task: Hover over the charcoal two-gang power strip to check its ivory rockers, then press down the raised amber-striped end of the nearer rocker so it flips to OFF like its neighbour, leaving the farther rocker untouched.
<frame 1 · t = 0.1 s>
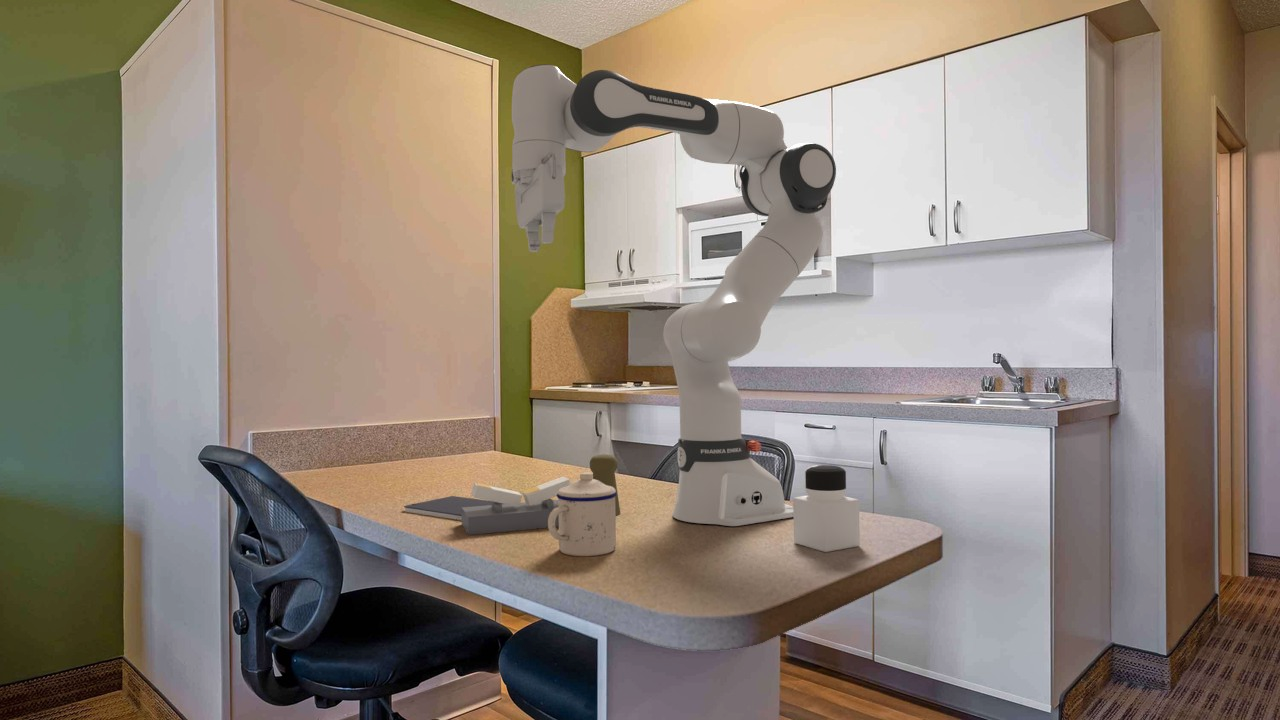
hand: (540, 247, 130), 48 cm above the table, fingers open, 8 cm apart
teacup with lid: (580, 553, 117), on the table
rocker 2: (547, 490, 138), point 6 cm above the table, hinge at 16.0°
medicine bottle: (826, 546, 118), on the table
power strip: (522, 524, 137), on the table
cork: (604, 514, 145), on the table
notebook: (464, 514, 150), on the table
rocker 1: (496, 494, 135), point 6 cm above the table, hinge at -16.0°
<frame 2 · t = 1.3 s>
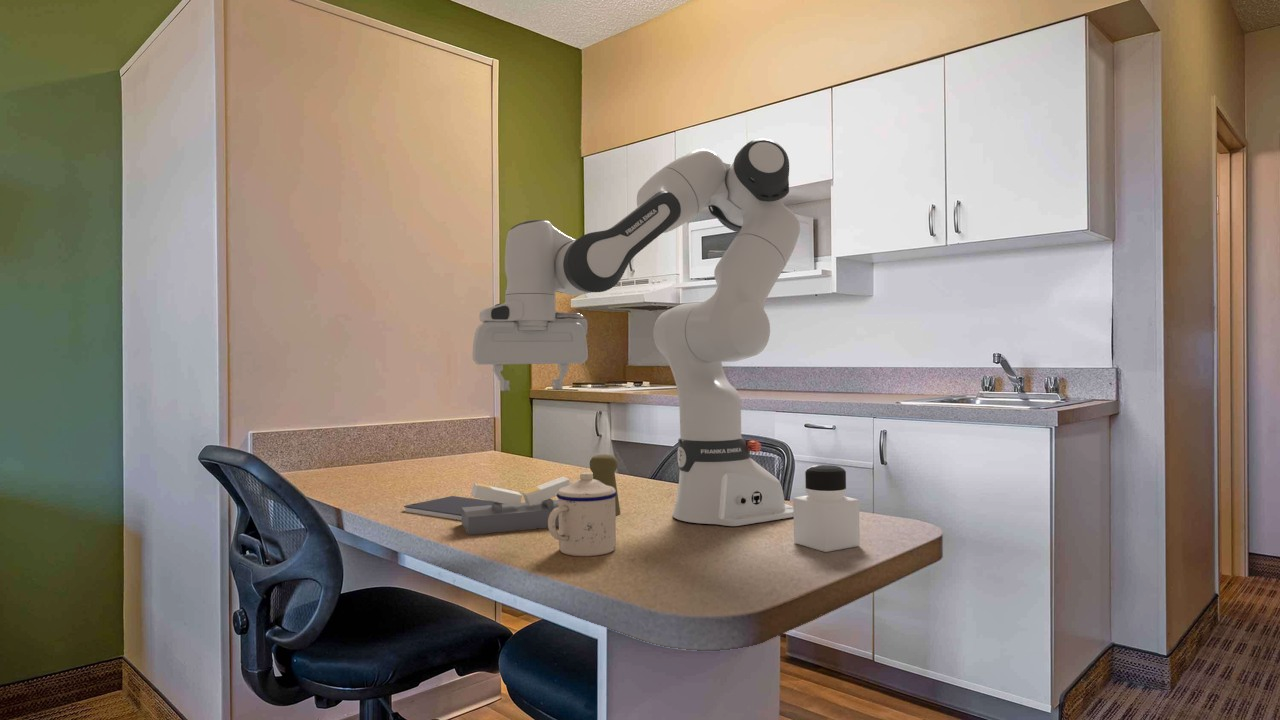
hand: (531, 390, 137), 24 cm above the table, fingers open, 8 cm apart
nothing on the table moved.
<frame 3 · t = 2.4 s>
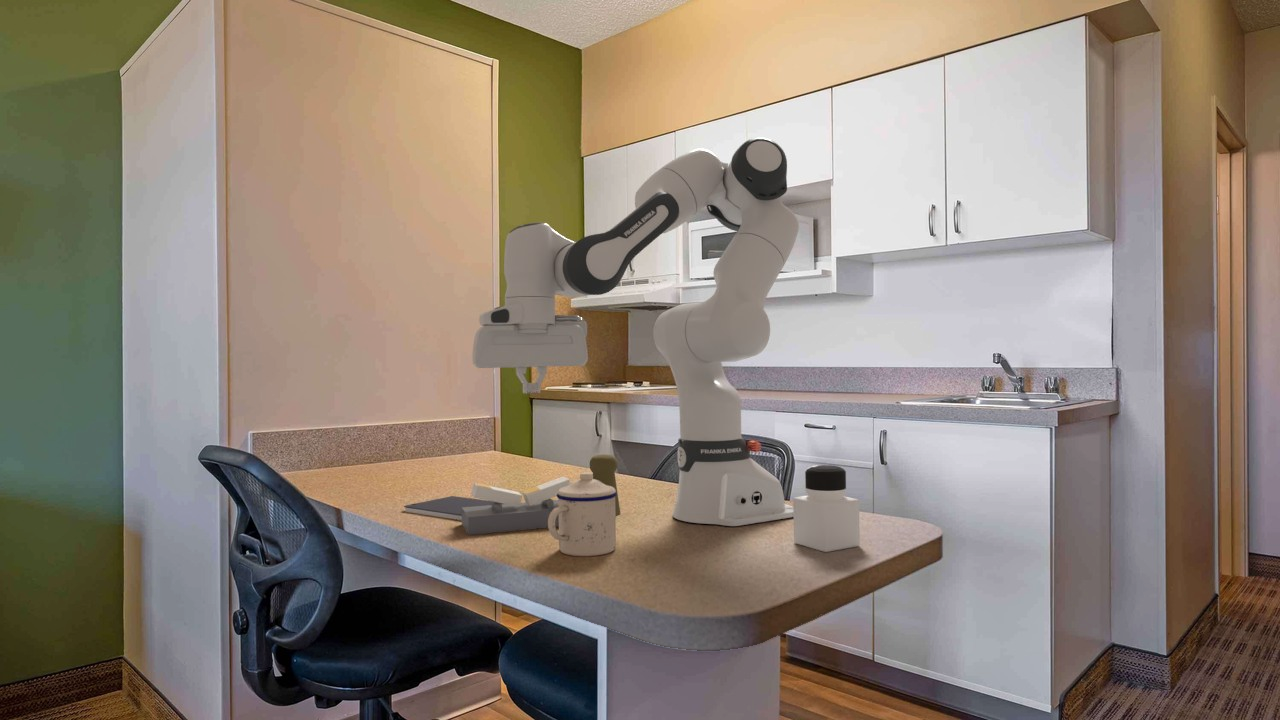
hand: (531, 393, 137), 23 cm above the table, fingers closed
nothing on the table moved.
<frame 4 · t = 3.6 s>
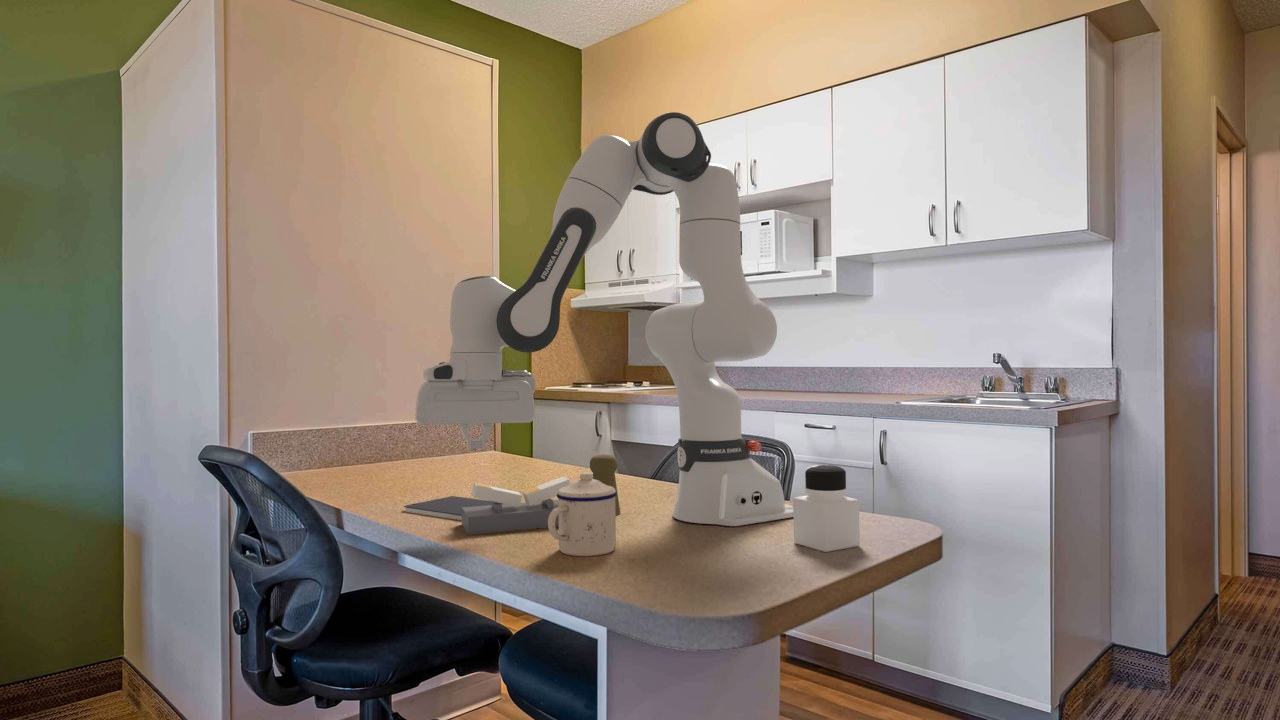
hand: (475, 450, 134), 14 cm above the table, fingers closed
nothing on the table moved.
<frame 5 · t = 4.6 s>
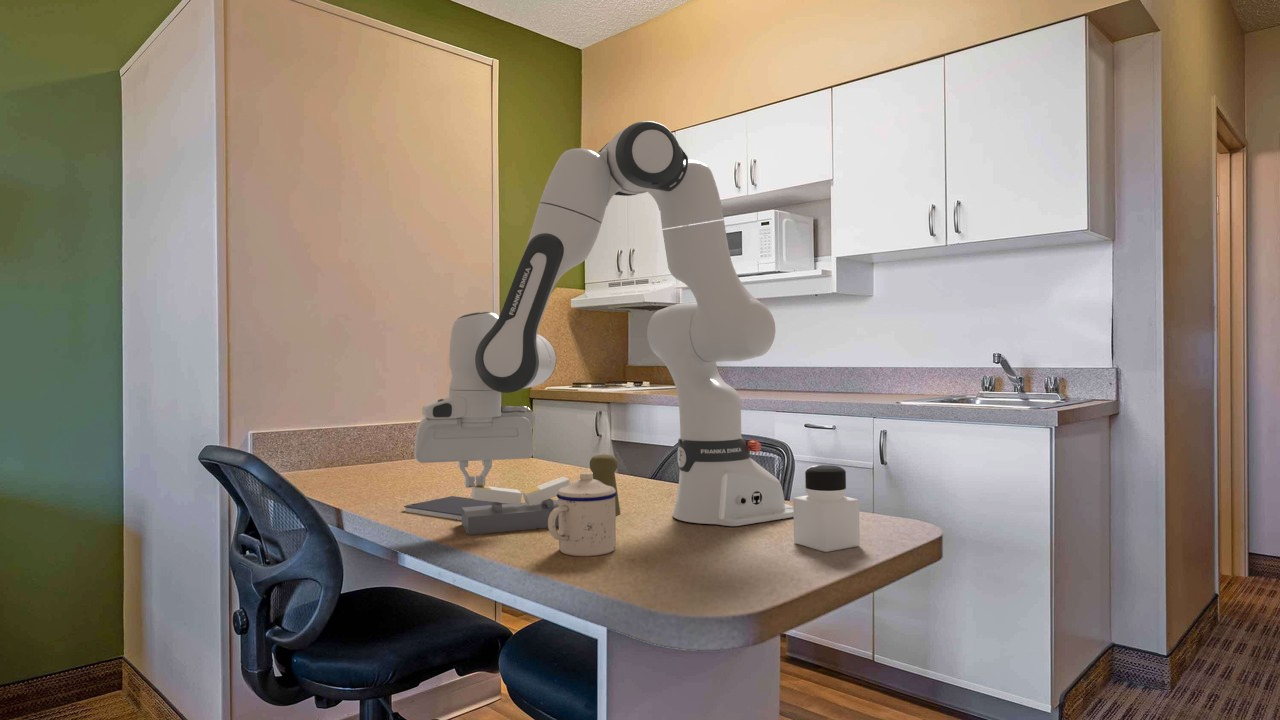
hand: (475, 486, 134), 7 cm above the table, fingers closed, pressing on rocker 1
rocker 1: (496, 494, 135), point 6 cm above the table, hinge at -10.9°, touching gripper
everything else where it was.
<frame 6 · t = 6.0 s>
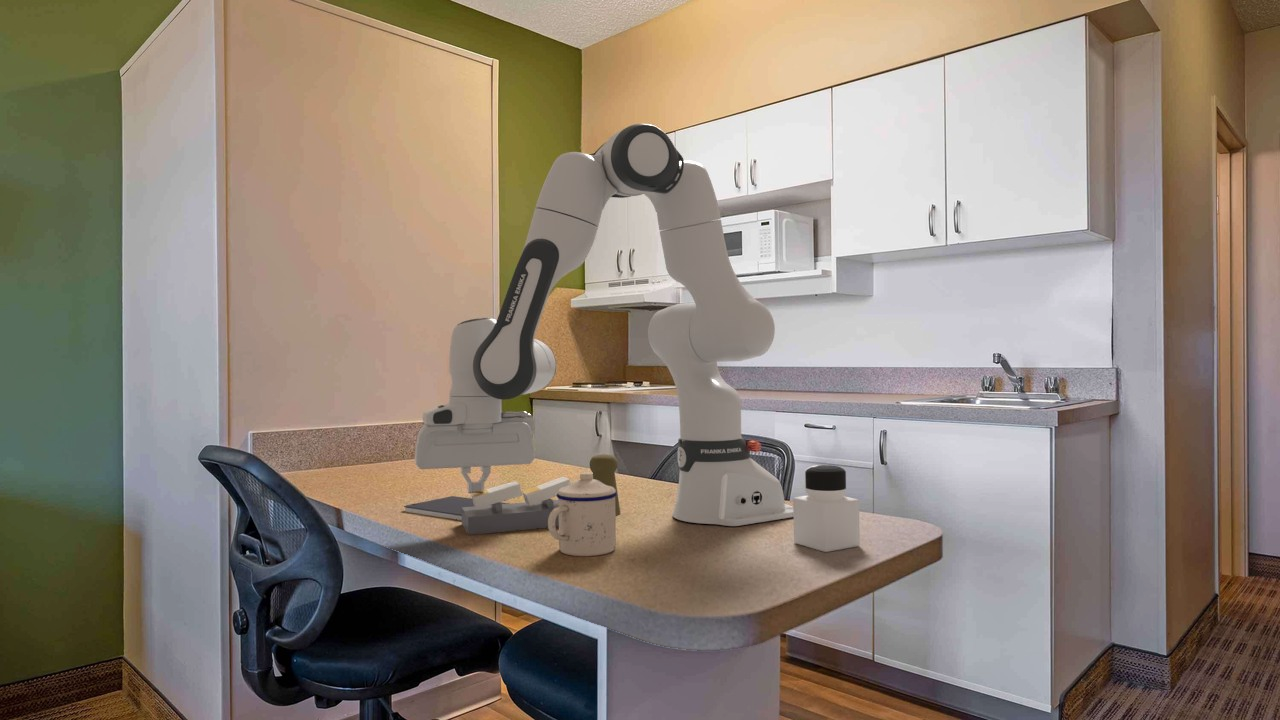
hand: (475, 492, 134), 6 cm above the table, fingers closed
rocker 1: (496, 494, 135), point 6 cm above the table, hinge at 12.3°, touching gripper
everything else where it was.
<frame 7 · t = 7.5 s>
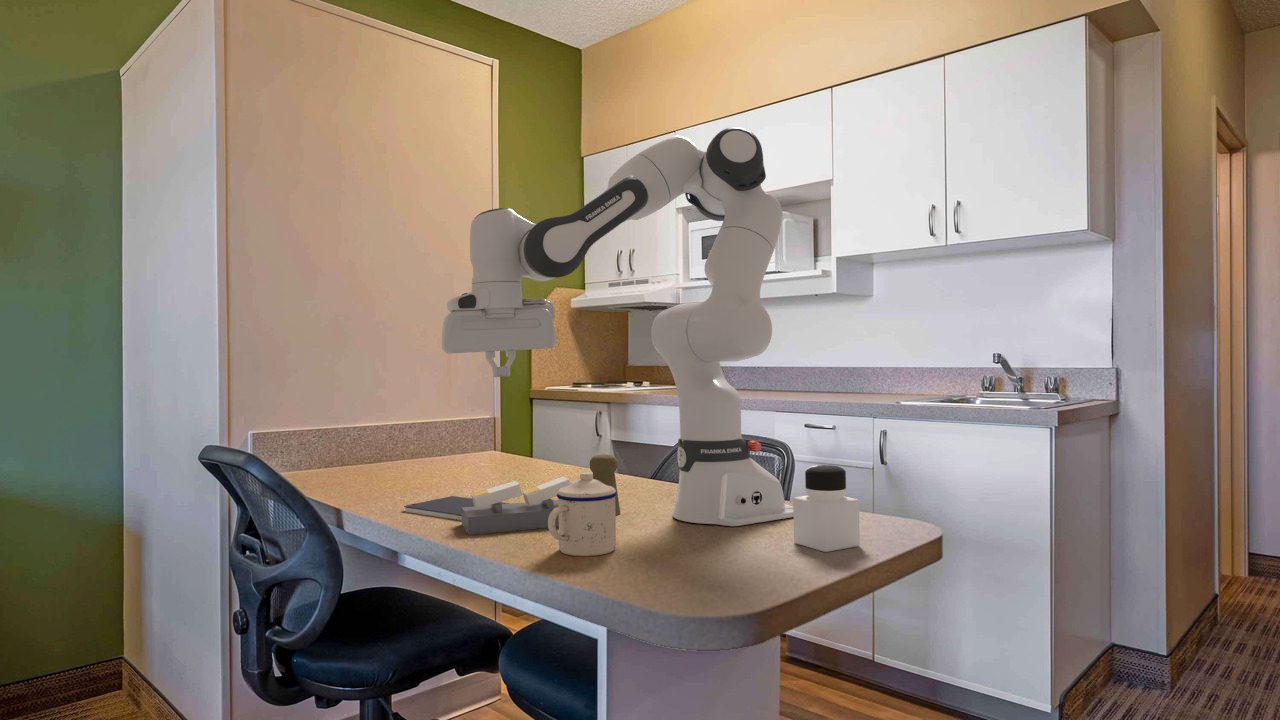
hand: (501, 376, 139), 26 cm above the table, fingers closed
rocker 1: (496, 494, 135), point 6 cm above the table, hinge at 12.8°
everything else where it was.
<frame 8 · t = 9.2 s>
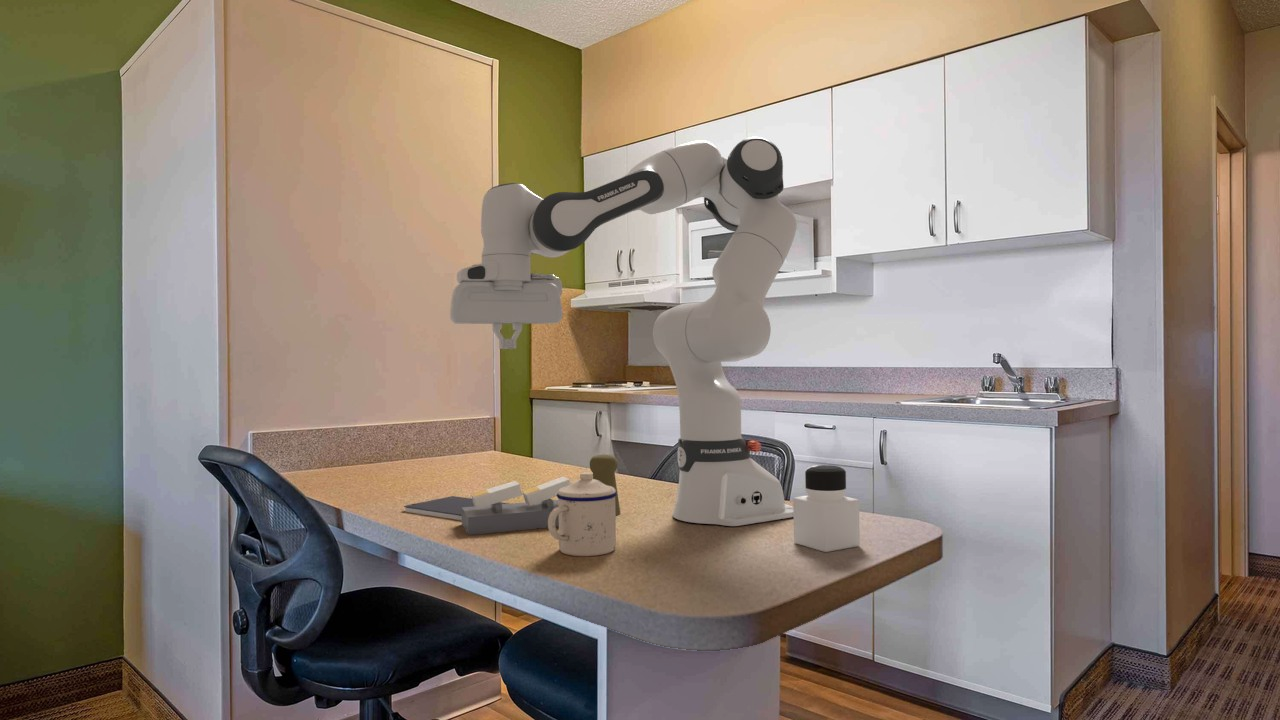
hand: (507, 348, 142), 31 cm above the table, fingers closed
nothing on the table moved.
at the end: rocker 1 at +13° (first picture: -16°); rocker 2 at +16° (first picture: +16°) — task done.
